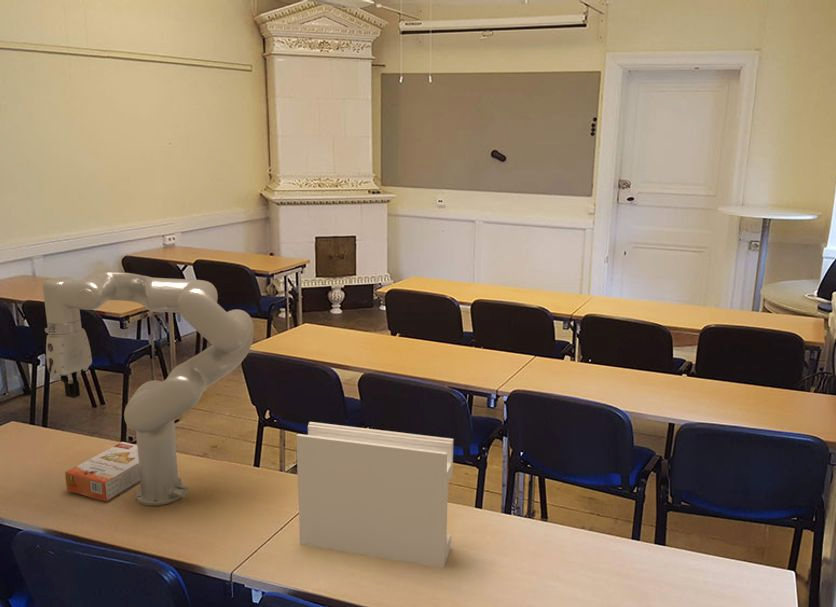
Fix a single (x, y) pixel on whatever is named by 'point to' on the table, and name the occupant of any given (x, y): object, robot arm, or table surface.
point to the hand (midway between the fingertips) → (73, 396)
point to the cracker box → (106, 473)
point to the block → (374, 492)
